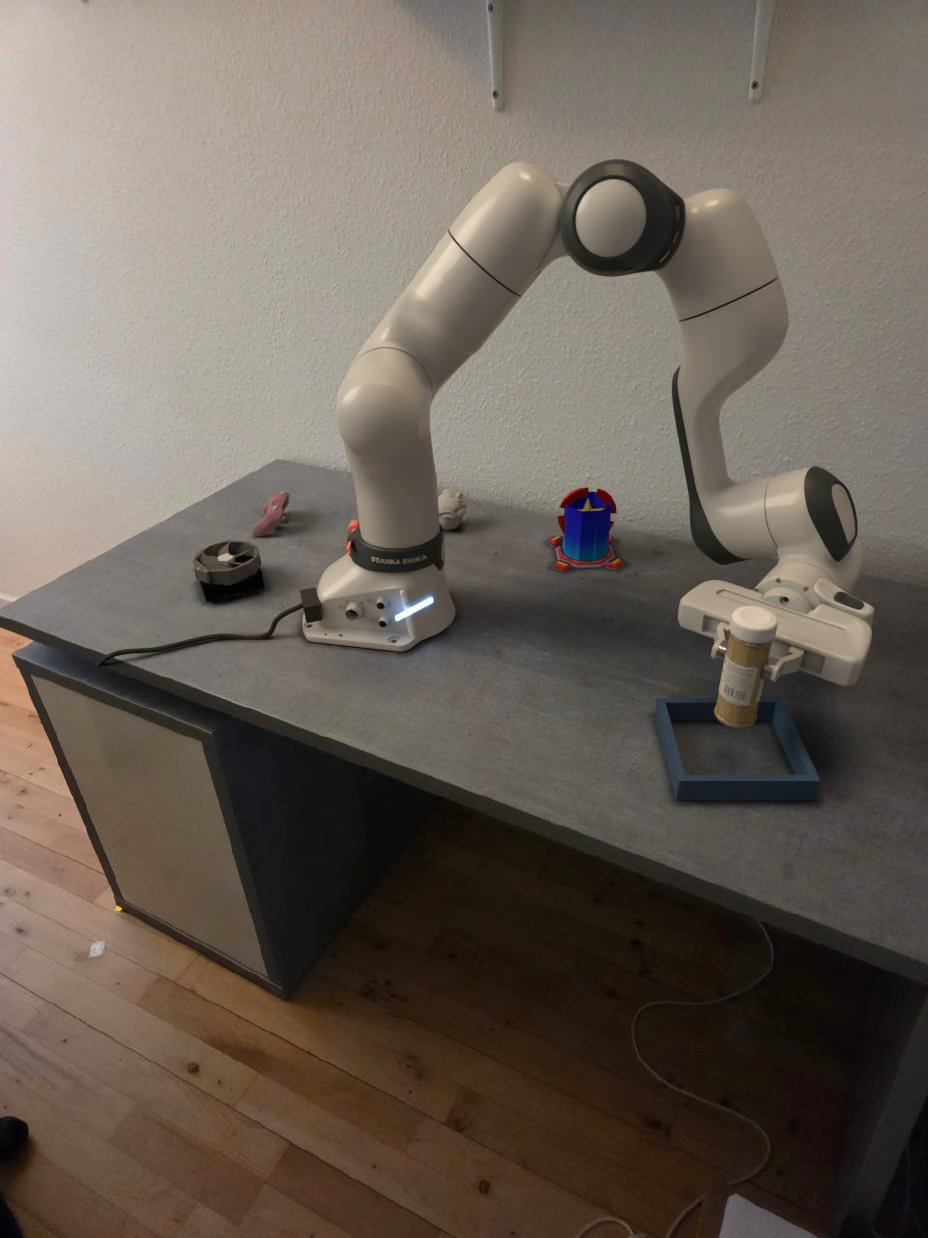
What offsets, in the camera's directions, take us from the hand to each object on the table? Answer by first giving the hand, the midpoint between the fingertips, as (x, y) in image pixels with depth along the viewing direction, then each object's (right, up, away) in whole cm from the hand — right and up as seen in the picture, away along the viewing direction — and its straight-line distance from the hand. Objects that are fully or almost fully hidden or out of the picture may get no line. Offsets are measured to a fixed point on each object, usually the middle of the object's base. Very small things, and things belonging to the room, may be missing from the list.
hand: (743, 664), depth 83 cm
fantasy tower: (-9, +16, +48) cm, 52 cm away
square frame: (+1, -11, +8) cm, 14 cm away
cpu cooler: (-66, +10, +44) cm, 80 cm away
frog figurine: (-32, +21, +58) cm, 69 cm away
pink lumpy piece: (-64, +22, +61) cm, 91 cm away
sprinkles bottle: (+1, -6, +5) cm, 8 cm away
